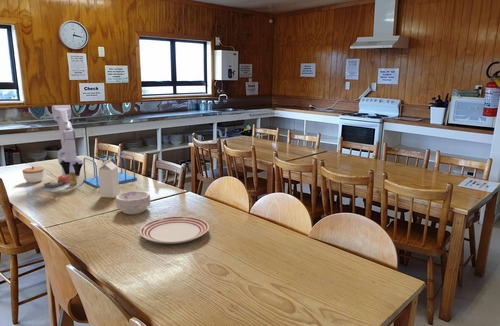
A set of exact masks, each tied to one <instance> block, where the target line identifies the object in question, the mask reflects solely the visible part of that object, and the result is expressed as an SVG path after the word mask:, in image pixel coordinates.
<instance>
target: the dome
mask: <svg viewBox="0 0 500 326" xmlns="http://www.w3.org/2000/svg"><path fill="white" fill-rule="evenodd" d="M58 181H59V179H58V180H57V179H53V180H49V182H50V184H56V183H58Z"/></svg>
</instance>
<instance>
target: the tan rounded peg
mask: <svg viewBox="0 0 500 326" xmlns="http://www.w3.org/2000/svg"><path fill="white" fill-rule="evenodd" d="M69 180H70V185H71V186H74V185H77V183H78V182H77V178H76V175H75V172H73V171H72V172H70V174H69Z"/></svg>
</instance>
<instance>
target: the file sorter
mask: <svg viewBox="0 0 500 326" xmlns="http://www.w3.org/2000/svg"><path fill="white" fill-rule="evenodd" d="M122 154H123V155H126V156H129V157H131V158H132V159H133V160H132V161H133V162H132V163H133V175H131V174H128V173H127V170H126V169H127V167H126V159H125V157H124V156H122ZM113 156H117V157H119V158H120V172H118V179H119V185H120V184H124V183H131V182H134V181H138V178H137V177H136V166H135V165H136V164H135V163H136V161H135V157H134V155H133V154H130V153H126V152H120V155H118V154H115V153H112V154H111V156H109V155H107V154H104V155H102V158H101V157H98V156H96V155H95V156H93V157H92V159H91V158H87V157H84V158H83V159H82V163H83V173H84V178H83V179H82V180H83V183H86V184H88V185H90V186H92V187H94V188H100V184H99V175H98V168H97V167H98V166H97V163H96V162H95V158H96V159H99V160H101V161H102V164H103V163H104V162H105V161H106V160H105V158H104V157H106V158H109V159H111V161H112V162H113V163H114V164H115V165H116V166H117V162H116V158H114V157H113ZM85 160H87V161H90V162H92V164H93V175H94V177H89V178H87V174H86V161H85ZM122 160H123V161H122ZM123 163H124V171H123Z"/></svg>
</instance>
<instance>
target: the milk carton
mask: <svg viewBox="0 0 500 326" xmlns="http://www.w3.org/2000/svg"><path fill="white" fill-rule="evenodd" d="M97 173H98V176H99V184H100V187H99V193H100V198H109V199H111V198H116V196H117V195H119V194H120V184H119V179H118V173H119V168H118V166H117V164H116V165H115V162H114V161H113V162H112V158H109V159H108V160H105V162H104V163H103V162H102V163H101V166H100V167H99V168H97Z"/></svg>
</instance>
